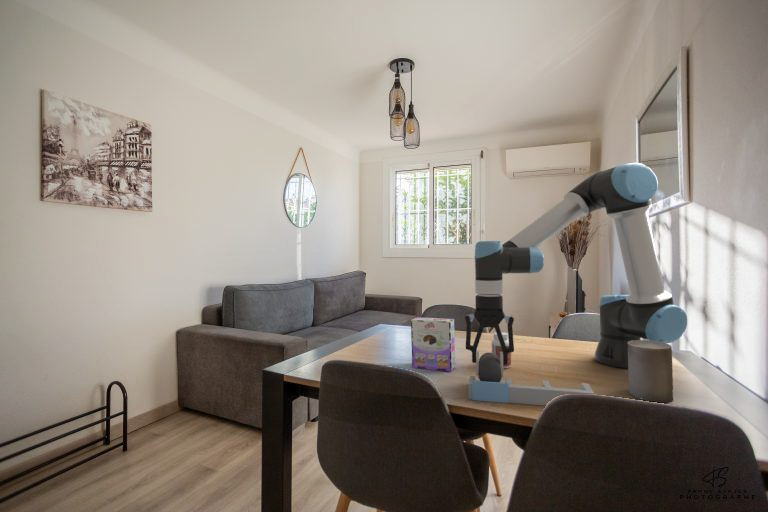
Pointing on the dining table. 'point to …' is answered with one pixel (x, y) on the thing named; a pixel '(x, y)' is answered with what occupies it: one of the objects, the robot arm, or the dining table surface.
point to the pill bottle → (497, 348)
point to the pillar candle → (650, 370)
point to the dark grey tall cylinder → (489, 368)
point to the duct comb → (518, 392)
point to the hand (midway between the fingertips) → (489, 374)
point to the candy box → (433, 343)
